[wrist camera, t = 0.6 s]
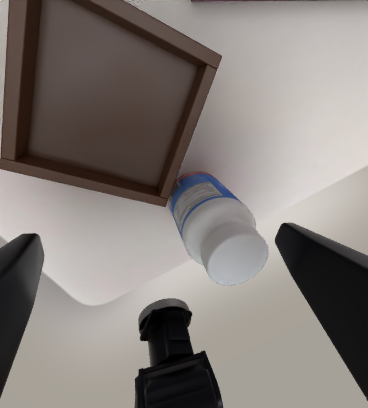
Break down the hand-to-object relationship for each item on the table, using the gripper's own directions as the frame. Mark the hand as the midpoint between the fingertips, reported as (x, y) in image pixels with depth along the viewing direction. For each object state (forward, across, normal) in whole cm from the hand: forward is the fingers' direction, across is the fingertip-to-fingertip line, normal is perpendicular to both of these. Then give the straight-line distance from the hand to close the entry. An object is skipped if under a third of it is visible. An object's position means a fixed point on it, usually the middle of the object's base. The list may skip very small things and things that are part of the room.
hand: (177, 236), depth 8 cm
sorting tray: (+12, +3, -2) cm, 13 cm away
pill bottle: (+12, -5, +5) cm, 14 cm away
